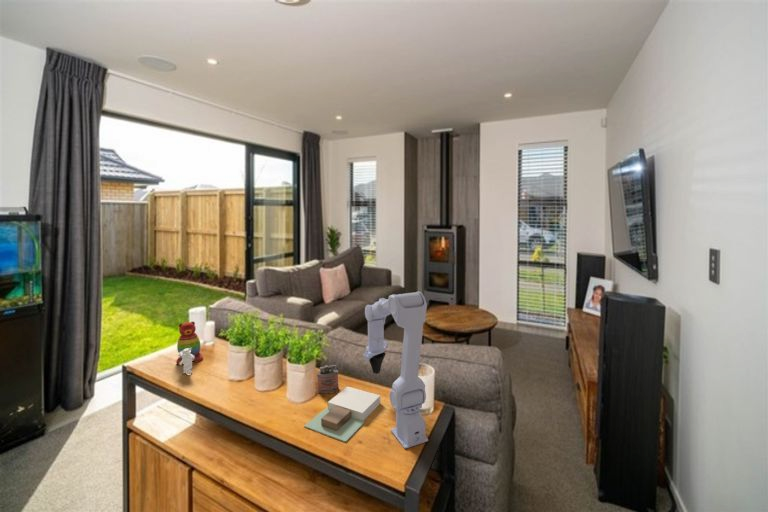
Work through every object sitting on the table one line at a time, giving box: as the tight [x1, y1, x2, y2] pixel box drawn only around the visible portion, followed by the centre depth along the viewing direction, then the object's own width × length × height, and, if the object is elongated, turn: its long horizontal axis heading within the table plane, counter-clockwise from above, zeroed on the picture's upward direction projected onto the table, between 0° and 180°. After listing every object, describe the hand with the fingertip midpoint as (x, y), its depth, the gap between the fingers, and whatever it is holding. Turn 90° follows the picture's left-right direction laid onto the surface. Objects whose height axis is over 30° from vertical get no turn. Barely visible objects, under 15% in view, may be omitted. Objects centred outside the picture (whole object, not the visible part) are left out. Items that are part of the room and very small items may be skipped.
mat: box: [303, 408, 366, 443], centre depth 110 cm, size 11×16×1 cm
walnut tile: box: [321, 406, 351, 431], centre depth 110 cm, size 8×6×2 cm
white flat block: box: [327, 386, 381, 421], centre depth 120 cm, size 12×14×3 cm
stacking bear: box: [176, 321, 204, 365], centre depth 159 cm, size 11×10×18 cm
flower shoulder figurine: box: [177, 348, 195, 374], centre depth 145 cm, size 9×4×12 cm, turn 61°
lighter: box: [316, 364, 340, 394], centre depth 130 cm, size 8×3×10 cm, turn 105°
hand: (376, 372), depth 125 cm, fingers closed
